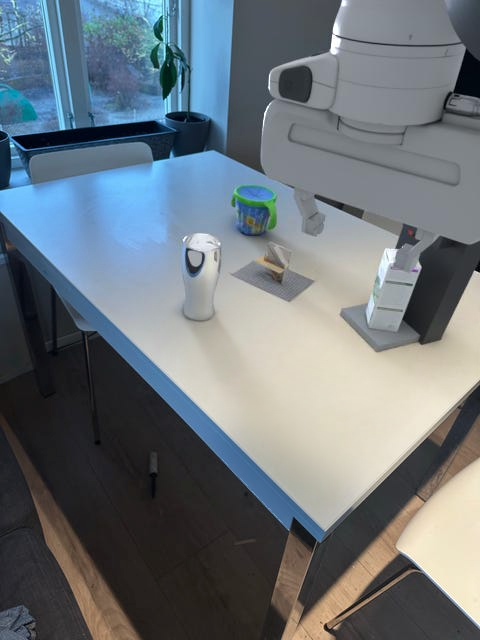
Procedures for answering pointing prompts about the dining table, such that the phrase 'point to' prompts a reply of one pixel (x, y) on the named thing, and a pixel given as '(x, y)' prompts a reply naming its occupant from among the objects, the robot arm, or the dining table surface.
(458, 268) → the coffee maker
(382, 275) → the syrup box
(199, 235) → the beer glass
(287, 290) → the architectural model
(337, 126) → the robot arm
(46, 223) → the dining table surface
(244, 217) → the snack cup
